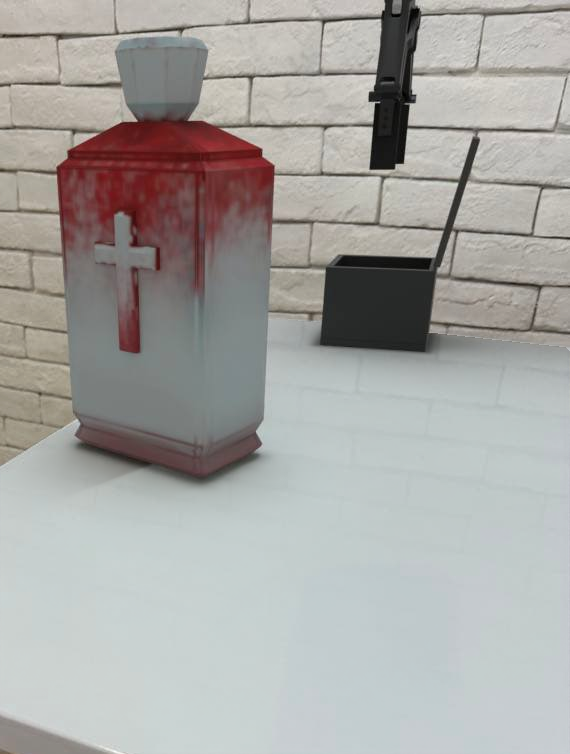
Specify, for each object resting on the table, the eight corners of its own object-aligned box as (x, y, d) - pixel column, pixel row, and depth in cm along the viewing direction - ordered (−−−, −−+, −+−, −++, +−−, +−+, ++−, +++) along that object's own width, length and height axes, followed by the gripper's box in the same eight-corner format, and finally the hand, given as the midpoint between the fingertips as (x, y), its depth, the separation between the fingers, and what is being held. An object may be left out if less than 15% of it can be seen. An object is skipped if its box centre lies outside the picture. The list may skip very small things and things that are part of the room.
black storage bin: (319, 344, 102) (325, 266, 98) (332, 326, 111) (338, 254, 106) (425, 351, 98) (435, 271, 94) (429, 332, 107) (439, 257, 103)
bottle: (64, 448, 71) (34, 42, 57) (142, 417, 78) (132, 49, 64) (197, 489, 62) (199, 25, 49) (271, 451, 69) (291, 36, 56)
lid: (472, 137, 87) (480, 139, 87) (472, 136, 96) (479, 137, 96) (433, 266, 94) (440, 267, 94) (436, 253, 103) (442, 254, 103)
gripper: (382, -34, 98) (366, 162, 107) (357, -76, 76) (340, 172, 86) (448, -39, 95) (426, 161, 105) (441, -84, 74) (414, 172, 84)
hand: (387, 167), depth 96 cm, fingers open, 13 cm apart
